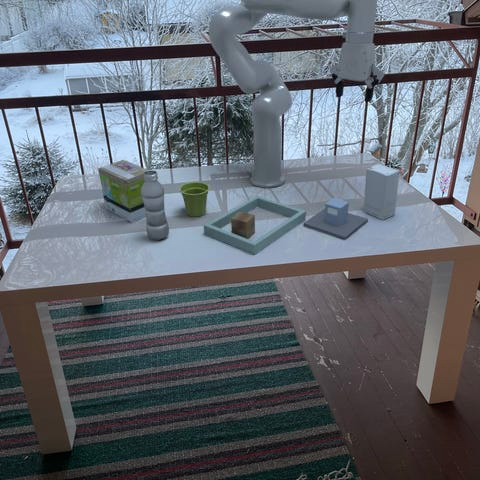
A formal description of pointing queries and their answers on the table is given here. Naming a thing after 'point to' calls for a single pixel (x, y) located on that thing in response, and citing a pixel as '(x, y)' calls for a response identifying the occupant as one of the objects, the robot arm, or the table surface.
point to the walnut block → (243, 224)
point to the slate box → (336, 211)
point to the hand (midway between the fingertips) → (353, 98)
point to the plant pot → (195, 197)
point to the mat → (333, 230)
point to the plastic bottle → (154, 206)
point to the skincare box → (381, 191)
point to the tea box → (123, 189)
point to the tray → (265, 240)
